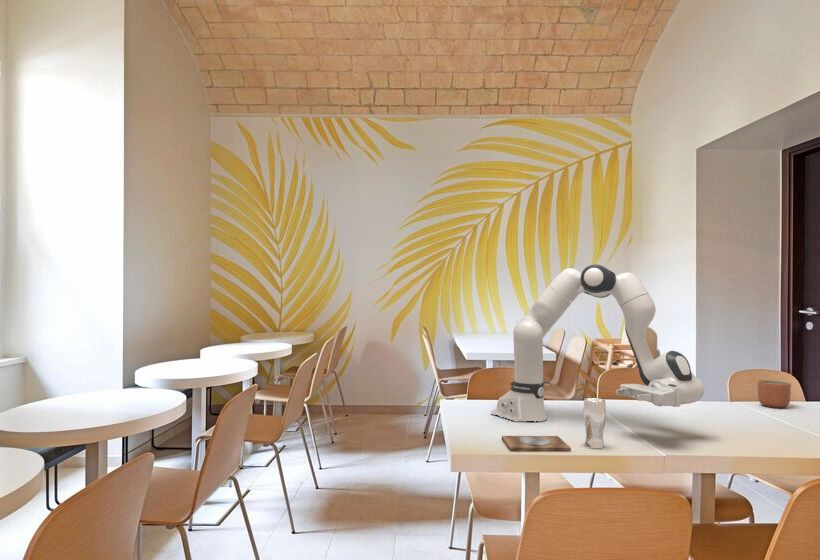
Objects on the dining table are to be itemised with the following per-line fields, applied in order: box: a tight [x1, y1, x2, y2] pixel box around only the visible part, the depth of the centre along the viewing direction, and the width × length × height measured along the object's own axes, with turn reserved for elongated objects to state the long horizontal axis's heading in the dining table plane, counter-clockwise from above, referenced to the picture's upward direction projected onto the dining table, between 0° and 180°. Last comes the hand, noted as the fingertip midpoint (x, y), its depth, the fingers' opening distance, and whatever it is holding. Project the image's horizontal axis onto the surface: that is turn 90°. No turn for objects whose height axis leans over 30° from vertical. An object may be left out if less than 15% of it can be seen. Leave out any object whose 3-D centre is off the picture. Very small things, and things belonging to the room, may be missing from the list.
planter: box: [757, 379, 792, 409], centre depth 248 cm, size 12×12×11 cm
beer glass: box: [582, 397, 607, 450], centre depth 181 cm, size 7×7×15 cm
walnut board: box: [501, 435, 572, 453], centre depth 182 cm, size 19×14×2 cm
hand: (626, 395), depth 185 cm, fingers open, 8 cm apart
